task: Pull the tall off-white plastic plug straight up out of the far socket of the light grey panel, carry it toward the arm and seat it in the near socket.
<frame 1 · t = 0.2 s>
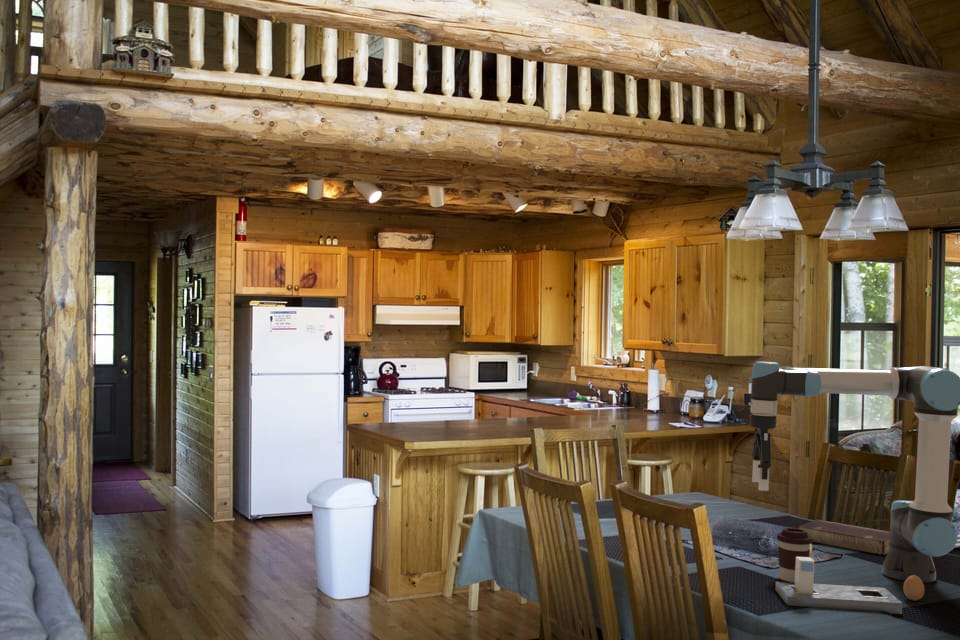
hand: (760, 486, 288), 28 cm above the table, fingers open, 13 cm apart
panel: (836, 602, 268), on the table
plug: (803, 598, 269), point 1 cm above the table, touching panel
hardback book: (848, 544, 341), on the table
coffee cup: (792, 581, 289), on the table
egg: (913, 601, 274), on the table
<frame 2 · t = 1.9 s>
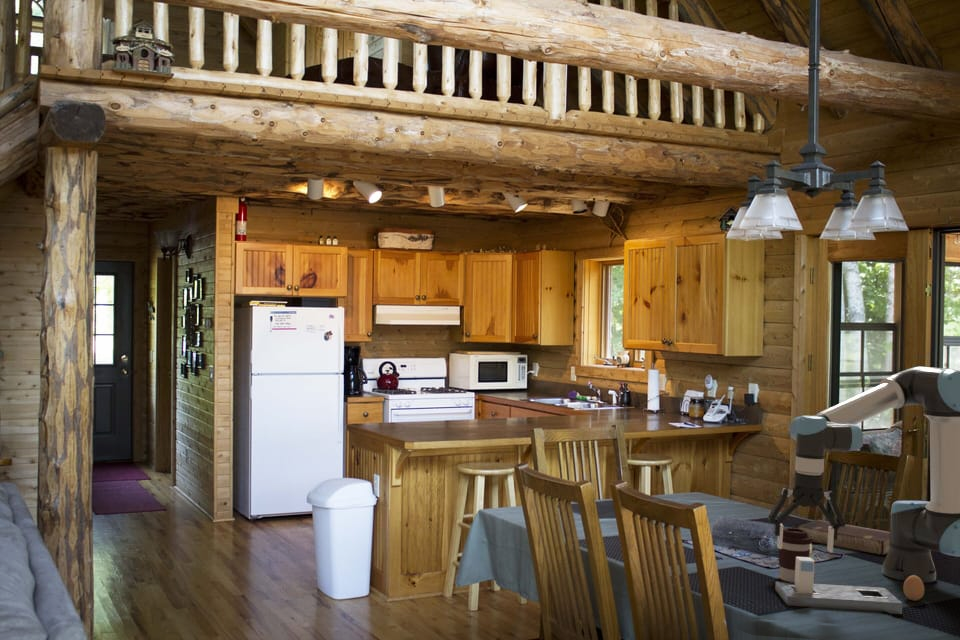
hand: (804, 549, 268), 14 cm above the table, fingers open, 13 cm apart
nothing on the table moved.
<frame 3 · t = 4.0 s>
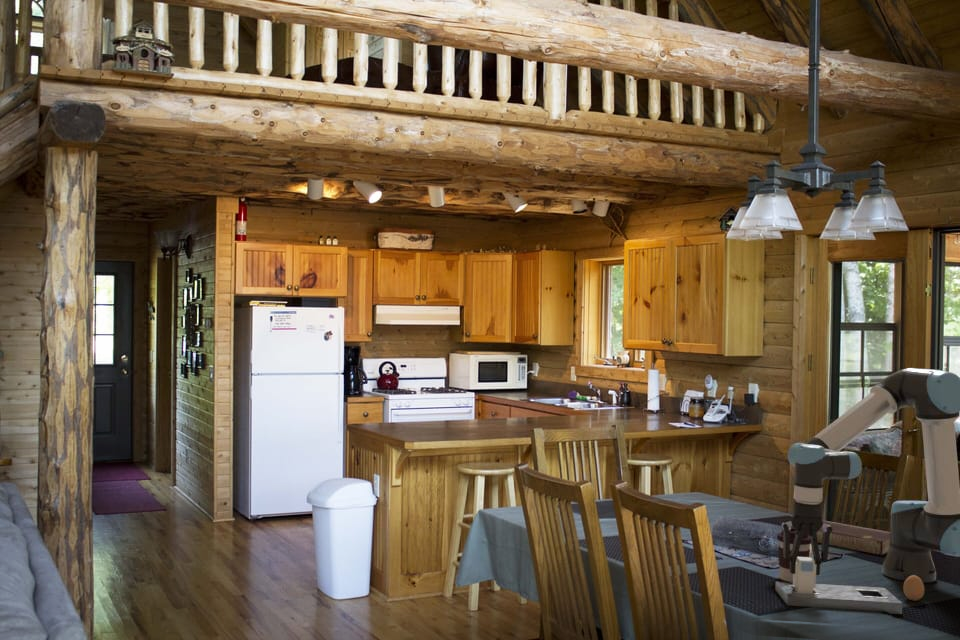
hand: (803, 585, 269), 4 cm above the table, fingers closed on plug, 4 cm apart
plug: (803, 598, 269), point 1 cm above the table, touching gripper, panel
everything else where it was.
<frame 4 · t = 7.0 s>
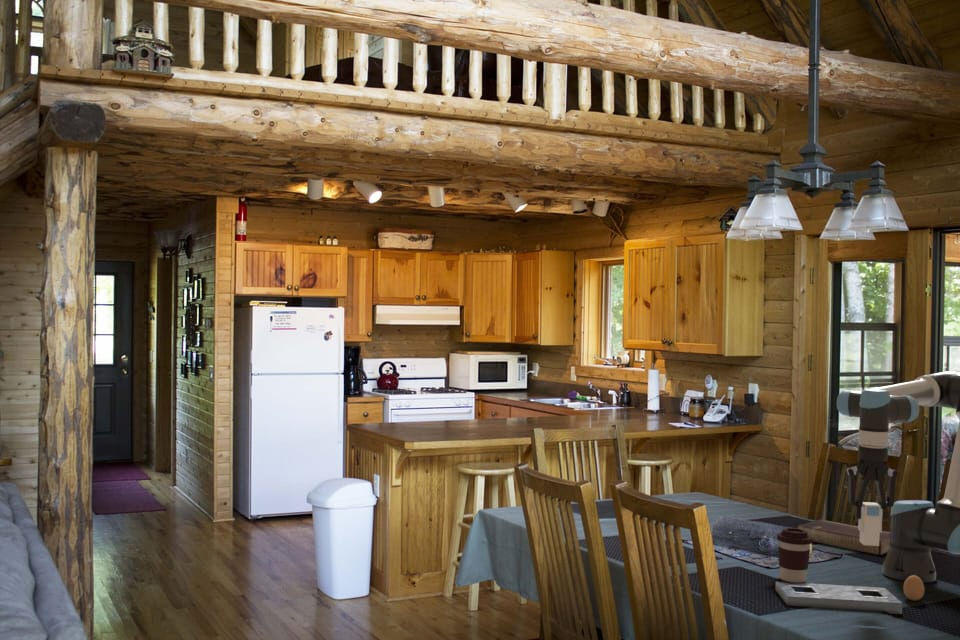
hand: (869, 530, 267), 20 cm above the table, fingers closed on plug, 4 cm apart
plug: (869, 543, 268), point 17 cm above the table, touching gripper
everything else where it was.
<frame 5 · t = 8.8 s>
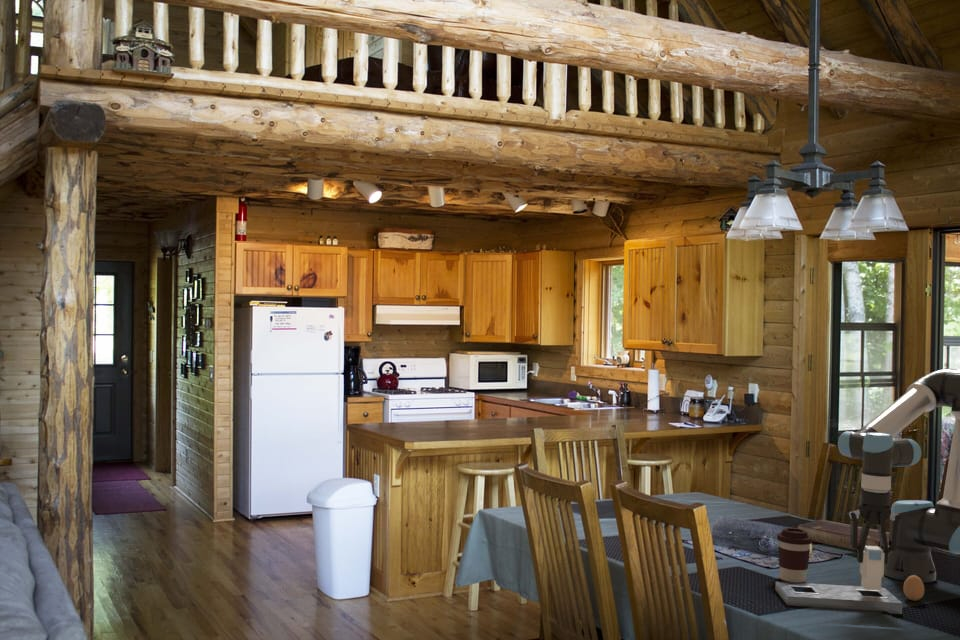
hand: (871, 574, 267), 8 cm above the table, fingers closed on plug, 4 cm apart
plug: (870, 587, 267), point 5 cm above the table, touching gripper
everything else where it was.
when the fingers open (5 cm above the table, at t = 10.1 s): plug stays where it is, resting on panel.
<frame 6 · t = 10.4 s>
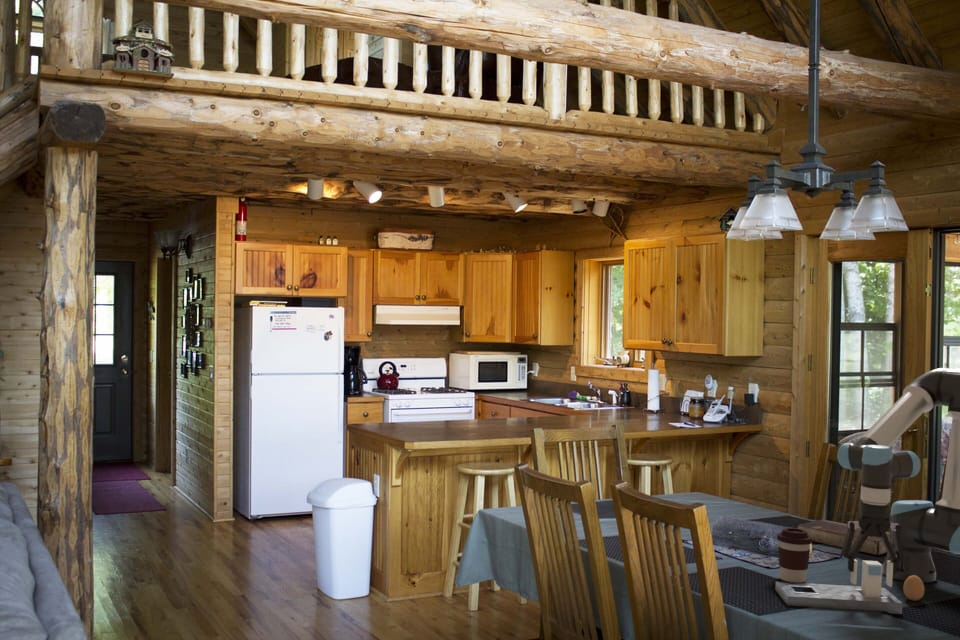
hand: (871, 584, 267), 6 cm above the table, fingers open, 9 cm apart
plug: (870, 602, 267), point 1 cm above the table, touching panel
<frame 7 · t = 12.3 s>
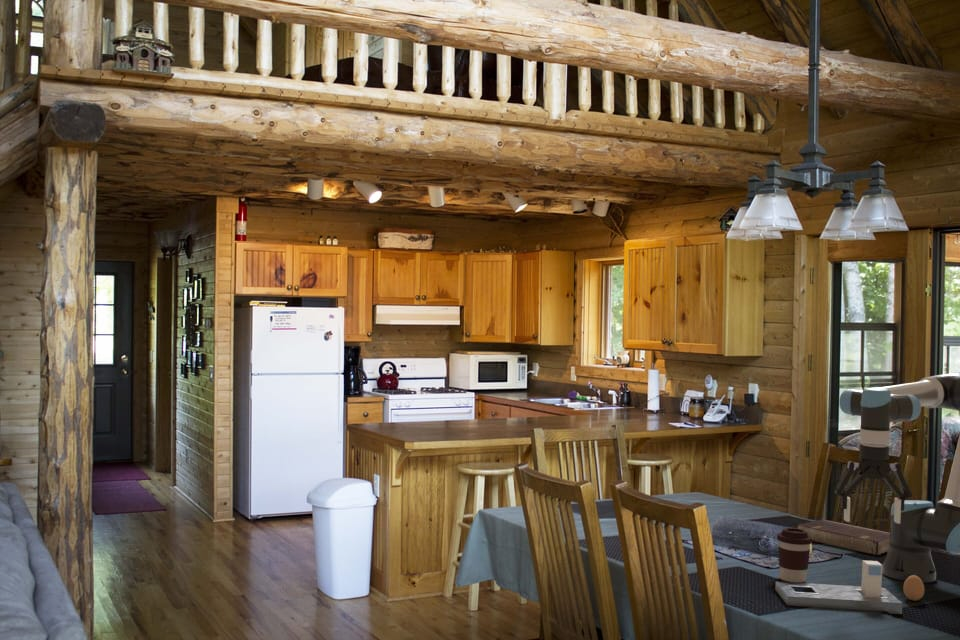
hand: (871, 521, 269), 22 cm above the table, fingers open, 13 cm apart
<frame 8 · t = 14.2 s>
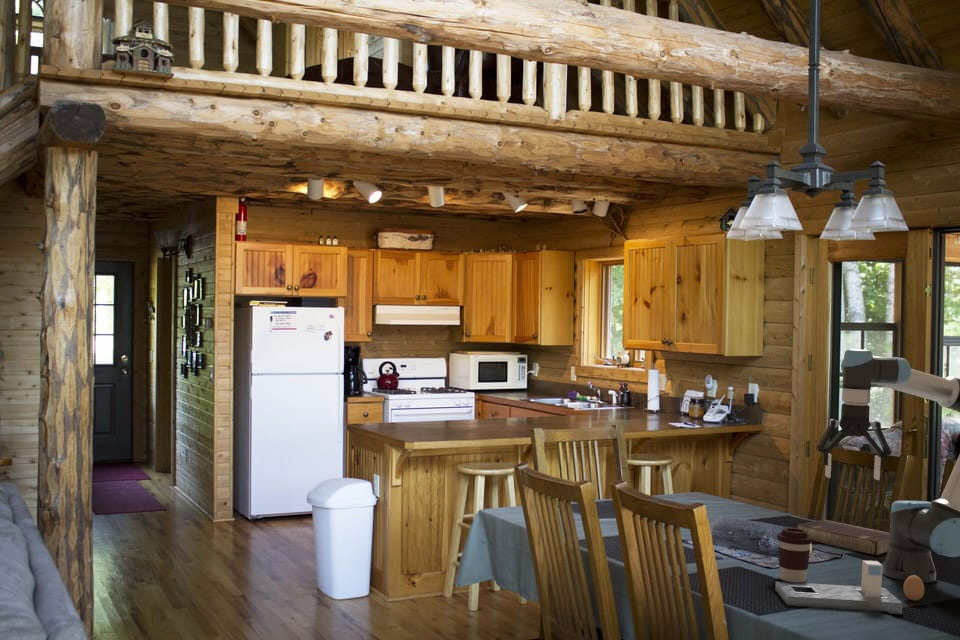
hand: (852, 478, 278), 33 cm above the table, fingers open, 13 cm apart
at the end: plug 0.0 cm from the target spot on the panel, point 0.6 cm above the panel's base; plug tilted 0°; the gripper is holding nothing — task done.
